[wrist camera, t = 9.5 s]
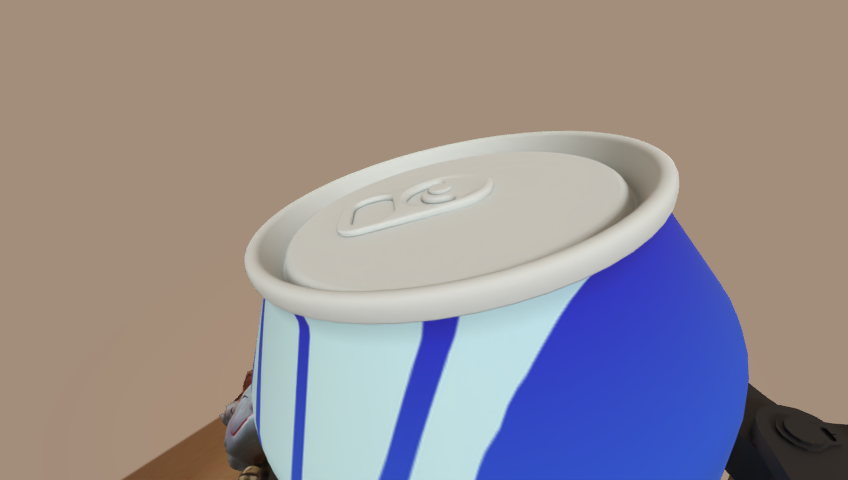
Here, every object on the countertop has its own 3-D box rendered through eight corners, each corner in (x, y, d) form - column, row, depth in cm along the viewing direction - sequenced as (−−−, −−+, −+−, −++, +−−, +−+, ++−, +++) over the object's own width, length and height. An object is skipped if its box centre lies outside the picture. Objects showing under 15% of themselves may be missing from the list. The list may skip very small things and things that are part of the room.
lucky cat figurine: (196, 609, 22) (123, 435, 23) (303, 472, 34) (254, 358, 34) (361, 600, 18) (267, 384, 18) (419, 446, 29) (362, 315, 30)
